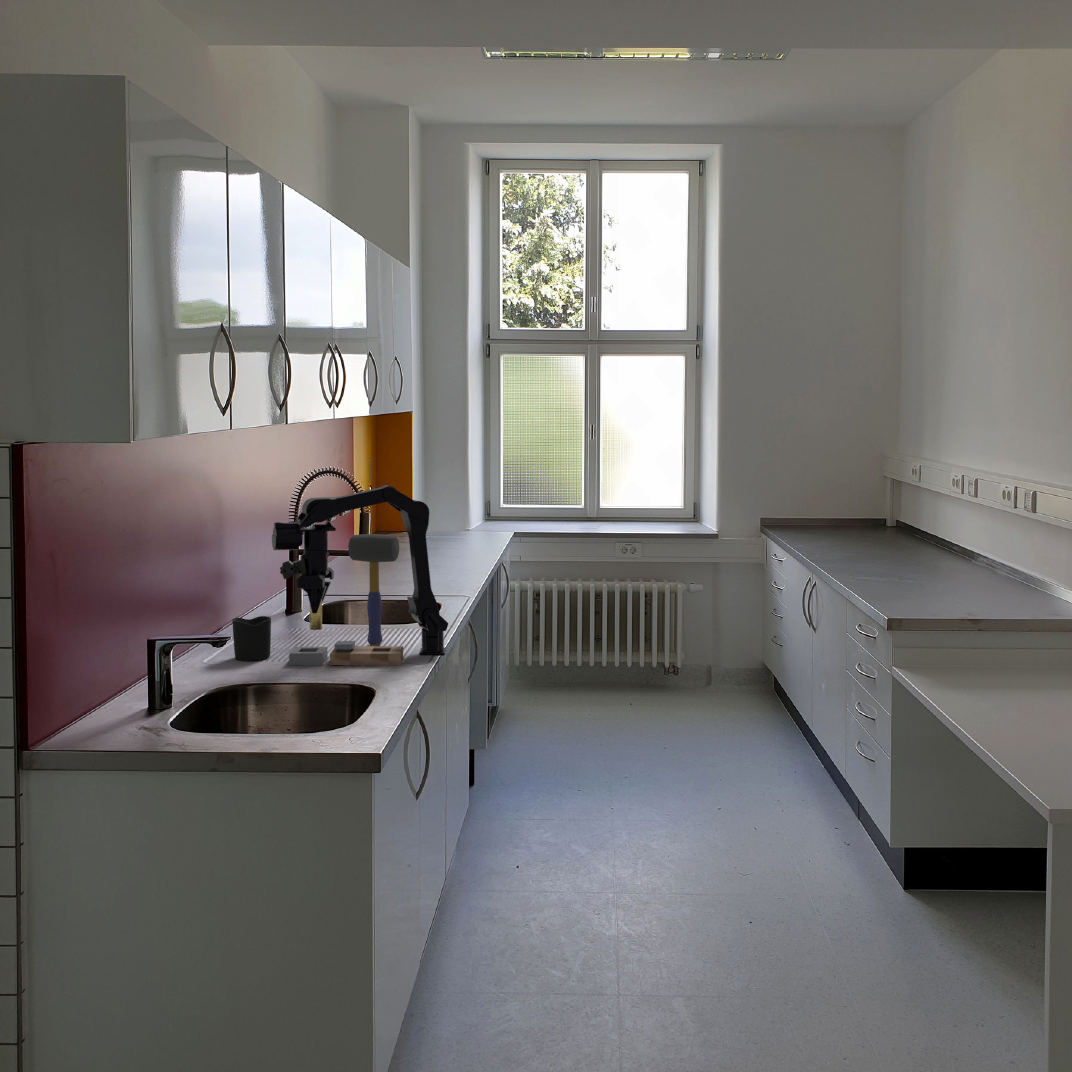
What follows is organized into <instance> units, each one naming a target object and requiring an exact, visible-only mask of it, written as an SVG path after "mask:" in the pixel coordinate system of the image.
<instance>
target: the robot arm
mask: <svg viewBox="0 0 1072 1072" xmlns="http://www.w3.org/2000/svg"><path fill="white" fill-rule="evenodd" d="M383 503H387V504H388V505H390V507H392V508H394V509H395V510H397V511H398V512H399V513H400V516H401V519H402V523H403V526H404V529H405V531H406V533H407V535H408V542H409V543H408V544H409V552H410V560H411V561H410V562H411V570H412V572H411V573H412V580H413V581H412V582H413V593H412V596H407V597H406V598H407V599H406V600H407V603H408V609H407V610H408V611H407V612H408V613H410V615H411V617H412V619H414V620H415V621H416V622H417V624H418V626H419V628H421V647H420V650H419V652H418V654H419V655H445V654H446V651H447V648H446V647H445V645H444V644H445V643H444V642H445V640H444V638H445V633H444V632H446V631H447V629H448V626H449V622H448V621H447V620H445V618H444V617H442V616H441V615H440V614H441V612H440V608H439V606H438V602H437V599H436V597H435V595H434V592H433V590H432V585H431V583H432V582H431V575H430V573H431V571H430V565H429V564H430V563H429V562H430V561H429V553H428V543H427V532H428V528H429V523H430V508H429V506H428V505H427V504H426V503H425V502H424V501H421V500H418V499H417V500H416V499H413V498H410V497H409V496H407V495H406V494H403V493H402V492H400V491H399V490H398V489H396V488H395V487H394V486H391V485H388V484H386V485H381V486H380V487H377V488H372V489H368V490H363V491H359V492H354V493H350V494H345V495H341V496H340V495H339V496H334V497H333V496H331V497H330V496H328V497H327V496H326V497H323V496H322V497H310V498H308V499H306V500H305V501H304V503H303V505H302V507H301V512H300V514H298V516H297V517H296V519H295V520H294V521H293V522H280V521H275V522H273V528H272V529H273V530H272V535H271V545H272V550H273V551H298V549H299V547H301V546H303V553H302V554H301V556H300V559H298V560H294V561H291V560H287V561H283V562H282V563H281V566H280V567H279V569H280V571H279V573H280V575H282V577H283V580H287V579H289V578H290V577H292V576H296V575H299V574H300V576H299V577H298V578H297V579H296V588H297V589H302V590H303V591H304V592H305V593H306V594H307V598H308V601H309V607H310V606H311V610H312V613H317V612H318V609H319V606H320V603H321V600H322V604H323V602H324V600H325V598H326V595H327V593H328V590H329V588H330V586H331V583H332V581H326V579H329V580H334V579H335V577H334V576H335V575H334V574H335V571H334V570H333V568H332V567H331V566H330V567H329V566H328V563H329V562H328V559H329V557H330V552H328V549H329V548H328V546H329V545H328V538H329V537H328V532H336V531H337V528H336V527H334V525H333V524H332V523H331V522H330V521H329V520H330V519H333V518H335V517H337V516H338V515H340V514H342V513H345V512H349V511H353V510H357V509H362V508H367V507H371V506H376V505H378V504H383ZM323 522H324V523H323ZM318 523H319V524H318ZM320 523H321V524H320Z"/></svg>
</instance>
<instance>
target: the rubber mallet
mask: <svg viewBox="0 0 1072 1072" xmlns="http://www.w3.org/2000/svg"><path fill="white" fill-rule="evenodd" d="M347 549H348V550H347V551H348V555H349V558H350V559H351V560H352V561H356V562H357V561H358V562H366V563H367V562H368V563H369V591H368V595H367V616H368V635H367V637H366V638H367V640H366V641H367V642H368V644H369V646H381V644H382V642H383V636H382V622H381V621H382V612H383V611H382V610H383V609H382V607H383V606H382V596H381V592H380V567H379V566H380V563H391V562H395V561H397V559H398V557H399V553H400V542H399V539H398V537H397V536H395V535H391V534H390V535H387V534H378V533H366V534H363V533H362V534H353V535H352V536H351V537H350V538H349V541H348V548H347Z"/></svg>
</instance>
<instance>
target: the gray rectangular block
mask: <svg viewBox="0 0 1072 1072" xmlns="http://www.w3.org/2000/svg"><path fill="white" fill-rule="evenodd" d="M355 646H356V641H355V640H336V642H335V643H334V648H335V649H338V651H352V649H353V648H354V647H355Z"/></svg>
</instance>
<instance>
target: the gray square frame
mask: <svg viewBox="0 0 1072 1072" xmlns="http://www.w3.org/2000/svg"><path fill="white" fill-rule="evenodd" d="M328 651H329V650H328V646H295V647H294V648H293V649H292V650H291V651H290V652H289V653H288V660H289V661H288V662H289V663H288V664H289V665H303V666H323V665H324V664H325V663H326V661H328V659H329V658H328V655H329V654H328ZM324 662H325V663H324ZM323 663H324V664H323Z"/></svg>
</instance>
